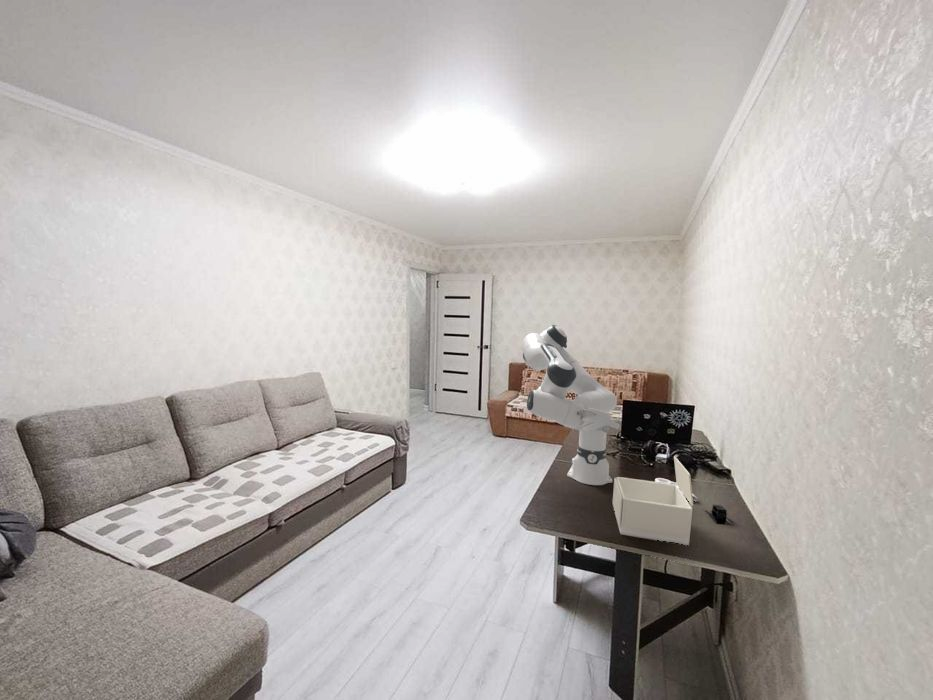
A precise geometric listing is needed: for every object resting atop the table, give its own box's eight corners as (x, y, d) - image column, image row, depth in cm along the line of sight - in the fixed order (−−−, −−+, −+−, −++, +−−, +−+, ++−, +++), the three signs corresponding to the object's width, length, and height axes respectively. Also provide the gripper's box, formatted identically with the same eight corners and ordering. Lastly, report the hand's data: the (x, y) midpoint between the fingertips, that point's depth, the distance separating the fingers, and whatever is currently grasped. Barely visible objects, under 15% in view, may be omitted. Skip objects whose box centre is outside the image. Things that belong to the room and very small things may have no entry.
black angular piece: (700, 510, 148) (701, 498, 148) (721, 512, 147) (722, 500, 146) (716, 527, 136) (717, 514, 135) (739, 529, 135) (740, 517, 134)
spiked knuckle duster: (700, 507, 150) (660, 503, 152) (682, 487, 168) (646, 484, 170) (701, 498, 149) (661, 494, 152) (682, 480, 167) (646, 476, 169)
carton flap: (673, 456, 138) (675, 456, 138) (676, 484, 138) (677, 484, 138) (688, 474, 121) (690, 474, 121) (692, 506, 121) (693, 506, 121)
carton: (611, 507, 145) (614, 476, 144) (672, 517, 140) (675, 484, 139) (618, 535, 126) (621, 499, 125) (689, 546, 121) (693, 509, 120)
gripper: (585, 400, 125) (627, 414, 124) (568, 411, 144) (604, 424, 143) (580, 419, 123) (623, 433, 122) (563, 427, 142) (600, 440, 141)
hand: (613, 428), depth 132 cm, fingers open, 8 cm apart
